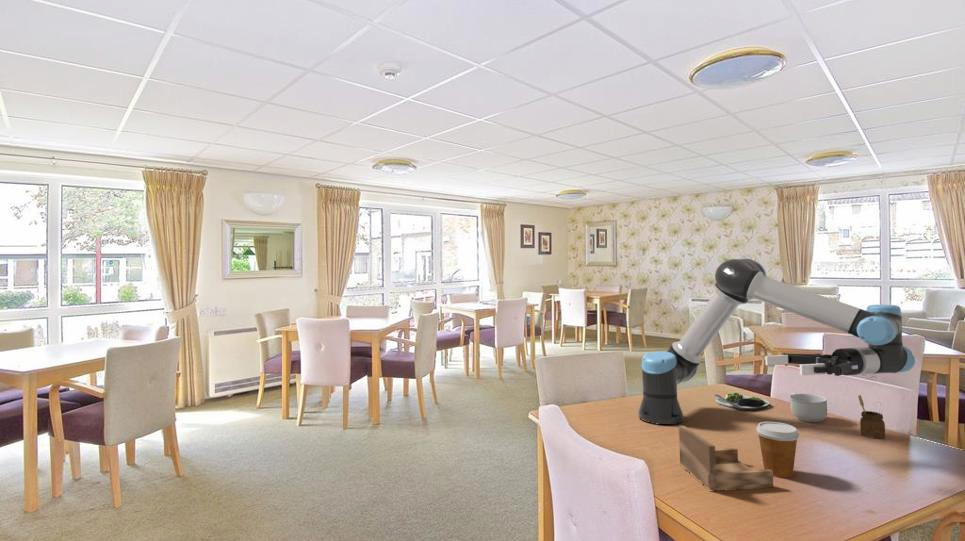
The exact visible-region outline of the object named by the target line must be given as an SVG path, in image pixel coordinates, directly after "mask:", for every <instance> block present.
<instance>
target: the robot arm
mask: <svg viewBox="0 0 965 541" xmlns="http://www.w3.org/2000/svg"><path fill="white" fill-rule="evenodd" d="M714 277H715V283H714V289H715V291H714V293H713V294H712V296H711V297H710V298H709V300H708V301H707V302H706V304H705V305H704V307H703V309H702V310H700V312H699V314H698V315H697V317H695V319H694V321H693V322H692V323H691V325H690V326H689V328H688V329H687V330H686V331H685V333H684V334H683V335H682V337H681V339H680V340H679V341H673V343H672V344H671V346H670V347H669V348H668V349H667V350H666V351H662V350H661V351H659V350H658V351H652V352H651V351H650V352H647V353H646V354H643V356H642V359H641V377H642V378H641V379H642V398H641V403H640V405H639V409H638V418H639V417H640V418H642V419H644V420H646V421H649V422H653V423H658V424H675V425H678V424H677V423H679V424H682V423H683V422H684V413H683V410H682V407H681V405H680V402H679V399H678V385H680V384H681V383H685V382H687V381H689V380H691V379H692V378H694V377H695V375H696V374H697V371H698V369H699V368H698V367H699V365H700V364H701V363H702V357H701V355H702V354H703V352H705V350H706V348H708V346H709V345H710V343H711V342H712V341H713V339H714V338H715V337H716V336H717V335H718V333H719V332H720V330H721V329H722V328H723V326H724V325H725V324H726V322H727V321H728V320H729V318H730V317H731V316H732V314H733V313H734V312H735V311H736V309H737V308H738V306H740V305H746V304H747V302H749V301H752V300H754V299H755V300H757V301H760V302H762V303H765V304H769V305H771V306H774V307H776V308H778V309H781V310H784V311H787V312H789V313H792V314H795V315H798V316H801V317H802V318H803V317H804V318H806V319H809V320H811V321H814V322H817V323H819V324H821V325H825V326H827V327H831V328H833V329H836V330H839V331H841V332H843V333H846V334H849V335H851V336H853V337H856V338H859V339H860V340H861V341H863V342H864V343H866V344H867V347H866V346H861V347H859V346H858V347H848V348H847V347H845V348H837V349H834V351H832V353H831V354H821V353H788V352H786V353H785V352H782V354H778V355H777V354H776V355H765V357H764V358H765V366H781V365H784V366H787V367H788V365H789V364H793V365H799V375H800V376H813V375H814V376H815V375H833V374H834V376H836V377H840V376H857V375H861V376H862V377H866V376H867V375H873V374H899V373H904V372H908V371H910V370H912V369H913V367H914V366H915V363H916V359H915V356H914V354H913V351H911V349H909V348H908V347H906V346H905V345H903V326H902V325H903V323H902V322H903V316H902V308H901V307H900V306H899V305H897V304H870V305H867V307H866V310H864V309H862V308H860V307H857V306H853V305H850V304H849V303H848V304H847V303H845V302H842V301H839V300H835V299H833V298H830V297H827V296H824V295H822V294H821V295H820V294H817V293H815V292H812V291H810V290H806V289H803V288H800V287H797V286H795V285H792V284H789V283H786V282H783V281H781V280H780V281H779V280H776V279H774V278H771V277H767V271H766V269H765V268H764V266H763V265H762V264H761V263H759V262H758V261H756V260H753V259H751V258H740V259H739V258H734V259H733V258H732V259H727V260H725V261H723V262H722V263H721V264H719V266H717V269H716V270H715V274H714ZM640 418H639V419H640ZM682 421H683V422H682ZM681 422H682V423H681ZM658 424H657V425H658Z"/></svg>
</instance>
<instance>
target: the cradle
mask: <svg viewBox="0 0 965 541" xmlns="http://www.w3.org/2000/svg"><path fill="white" fill-rule="evenodd" d="M678 439H679V440H678V441H679V465H680V464H681V465H682V466H683V467H684V468H686V469H687V470H688V471H689V472H691V473H692V474H693V475H694V476H695V477H696V478H697V479H698V480H700V481H701V482H702V483H703V484H704V485H705V486H706V487H708V488H709V489H710V490H725V489H727V490H725V491H730V490H729V489H733V490H732V491H737V490H736V489H740V490H751V489H752V490H753V489H754V488H756V489H770V488H769V487H771V488H774V476H773V471H772V470H770V469H768V470H765V469H756V470H754V469H752V468H751V467H749V466H748V465H746V464H745V463H743V462H741V461H740V460H739V454H738V453H739V452H738V451H739V450H738V448H736V447H732V448H731V447H729V448H716V445H715V444H713V443H711V442H710V441H708V440H706V438H704V437H702V436H701V435H700V434H698V433H696V432H695V431H693V430H691V429H690V428H688V427H687V426H685V425H678ZM698 480H697V481H698ZM704 485H703V486H704ZM705 486H704V487H705ZM706 487H705V488H706Z"/></svg>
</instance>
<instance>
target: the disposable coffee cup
mask: <svg viewBox="0 0 965 541" xmlns="http://www.w3.org/2000/svg"><path fill="white" fill-rule="evenodd" d="M755 430H756V433H757V434H758V439H759V445H760V451H761V457H762V463H763V468H764V469H763V470H768V469H770V470H772V471H773V477H778V478H785V479H787V478H791V477H793V476H794V467H795V461H796V458H795V457H796V452H797V451H796V450H797V442H798V439H799V437H800V434H799V432H798V429H797V428H796V427H795V426H793V425H791V424H788V423H783V422H777V421H761V422H759V423H758V424H757V427H756V429H755Z"/></svg>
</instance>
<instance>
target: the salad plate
mask: <svg viewBox="0 0 965 541" xmlns="http://www.w3.org/2000/svg"><path fill="white" fill-rule="evenodd" d="M725 394H726V395H724V396H721V395H719V394H714V398H715V400H716V403H717V404H720V405H721V406H724V407H727V408H731V409H732V410H733V409H734V410H738V411H742V412H757V411H758V412H759V411H763V410H766V409H768V408H770V406H771V402H770V401H769V400H766V399H762V398H759V396H758V397H757V396H752V397H751V396H748V395H743V394H741V393H738V392H732V393H728V392H726V393H725Z"/></svg>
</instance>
